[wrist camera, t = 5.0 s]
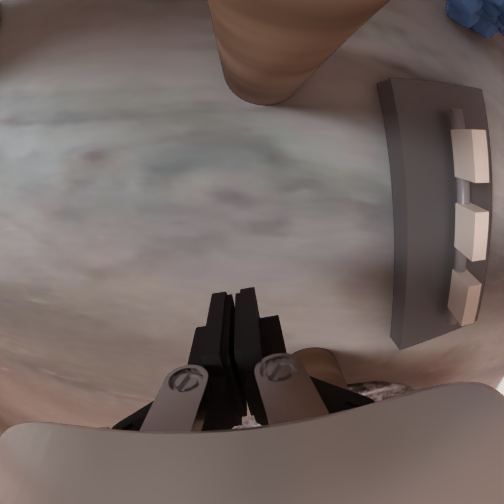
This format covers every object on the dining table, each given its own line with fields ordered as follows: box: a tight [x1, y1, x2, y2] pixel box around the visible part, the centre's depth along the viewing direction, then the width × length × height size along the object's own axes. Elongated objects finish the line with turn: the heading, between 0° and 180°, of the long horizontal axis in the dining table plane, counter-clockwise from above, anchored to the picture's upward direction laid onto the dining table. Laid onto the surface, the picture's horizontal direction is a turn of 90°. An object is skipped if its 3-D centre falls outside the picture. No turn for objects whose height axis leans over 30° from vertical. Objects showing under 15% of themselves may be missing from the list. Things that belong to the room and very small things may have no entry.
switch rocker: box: [446, 109, 489, 326], centre depth 15 cm, size 16×1×3 cm, turn 10°
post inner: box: [207, 0, 390, 105], centre depth 9 cm, size 5×5×14 cm
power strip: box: [377, 78, 492, 350], centre depth 18 cm, size 20×9×2 cm, turn 10°
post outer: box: [292, 348, 349, 390], centre depth 16 cm, size 5×5×14 cm
